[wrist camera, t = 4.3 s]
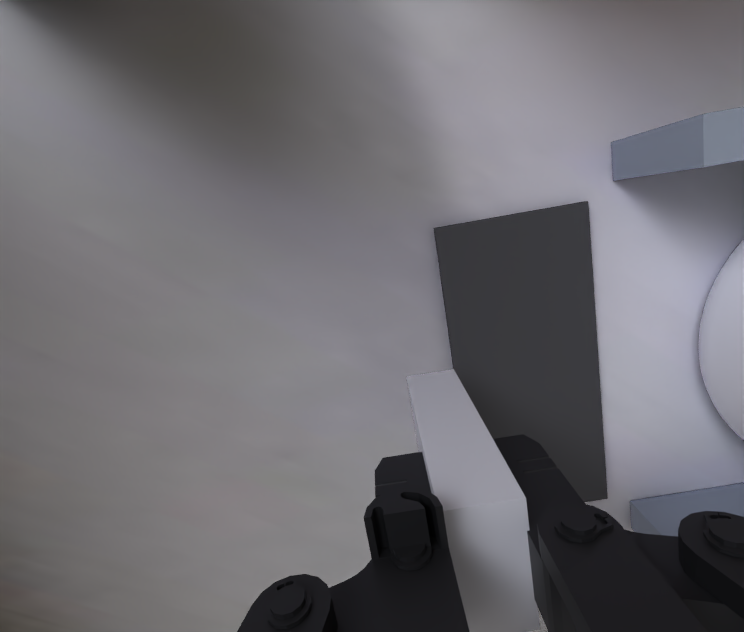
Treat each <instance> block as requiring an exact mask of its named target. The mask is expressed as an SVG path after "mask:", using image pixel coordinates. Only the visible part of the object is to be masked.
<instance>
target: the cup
mask: <svg viewBox="0 0 744 632" xmlns="http://www.w3.org/2000/svg"><path fill="white" fill-rule="evenodd" d="M698 350H699V363H700V368H701V374H702V377H703V380H704V384H705V387H706V389H707V392H708V394H709V396H710V398H711V400H712V402H713V405H714V406H715V408H716V409H717V411H718V412H719V414H720V416H721V417H722V418H723V420H724V421H725V422H726V423H727V424H728V425H729V427H730V428H731V429H732V430H733V431H734V432H735V433H736V434H737V435H738V436H739V437H741V438H742V439H743V440H744V239H743V241H742V242H741V243H740V244H739V245H738V246H737V247H736V249H735V250H734V251H733V253H732V254H731V255H730V257H729V258H728V259H727V261H726V263H725V264H724V266H723V267H722V269H721V270H720V272H719V274H718V276H717V278H716V279H715V281H714V284H713V286H712V288H711V290H710V292H709V295H708V298H707V301H706V303H705V307H704V310H703V314H702V318H701V323H700V332H699V345H698Z"/></svg>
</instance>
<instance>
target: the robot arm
mask: <svg viewBox="0 0 744 632" xmlns="http://www.w3.org/2000/svg"><path fill="white" fill-rule="evenodd" d="M407 384H408V390H409V396H410V402H411V408H412V414H413V421H414V427H415V433H416V439H417V445H418V451H419V452H417V453H411V454H405V455H398V456H392V457H386V458H382V460H381V462H380V463H379V465H378V467H377V468H376V470H375V486H376V487H375V496H376V498H375V499H374V500H373V501H372V503H371V504H370V505H369V506H368V507H367V509H366V512H365V516H364V522H365V527H366V532H367V537H368V542H369V547H370V552H371V557H372V560H371V561H370V562H369V563H368V565H367V566H366V567H365V568H364V569H363V570H362V571H360V572H359V573H358V574H357V575H355V576H353V577H352V578H350V579H348V580H346V581H344V582H342V583H339V584H337V585H335V586H333V587H330V588H328V586H327V584H326V583H324V582H323V581H322V580H321V579H320V578H318V577H315V576H311V575H307V574H302V575H294V576H289V577H287V578H284V579H282V580H279V581H277V582H275V583H274V584H272V585H271V586H270V587H268V588H267V589H266V590H264V591H263V592H262V593H261V594H260V596H259V597H258V598H257V599H256V601H255V602H254V603H253V605H252V606H251V608H250V610H249V611H248V613H247V615H246V617H245V619H244V620H243V622H242V624H241V626H240V628H239V629H238V631H237V632H525V631H532V630H539V629H540V623H539V613H538V608H539V610H540V613H541V615H542V617H543V620H544V622H545V624H546V627H547V629H548V632H744V517H743V516H739V515H735V514H731V513H727V512H718V511H702V512H696V513H691V514H689V515H688V516H686V517H685V518H683V519H682V520H681V521H680V525H679V528H678V536H667V535H655V534H644V533H637V532H631V531H627V530H624V529H623V527H622V526H621V525H620V524H619V523H618V522H617V521H616V520H615V519H614V518H613V517H612V516H610V515H609V514H608V513H607V512H605V511H602V510H600V509H598V508H596V507H594V506H590V505H586V504H585V503H584V501H583V500H582V499H581V497H580V496H579V495H578V493H577V492H576V491H575V490H574V488H573V487H572V486H571V484H570V483H569V482H568V480H567V479H566V478H565V476H564V475H563V474H562V472H561V471H560V470H559V468H558V469H557V466H556V464H555V463H554V462H553V460H552V459H551V458H549V455H548V454H547V453H546V451H545V450H544V449H543V447H542V446H541V445H540V443H538V442H536V441H535V440H533V439H531V438H529V437H527V436H526V435H524V434H521V435H515V436H509V437H502V438H496V439H493V438H492V436H491V435H490V433H489V431H488V429H487V428H486V426H485V424H484V422H483V420H482V419H481V417H480V415H479V413H478V411H477V410H476V408H475V406H474V404H473V403H472V401H471V399H470V397H469V395H468V394H467V392H466V390H465V388H464V387H463V385H462V383H461V381H460V379H459V378H458V376H457V374H456V372H455V371H454V369H450V370H444V371H438V372H432V373H426V374H419V375H413V376H407Z"/></svg>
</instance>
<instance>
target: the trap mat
mask: <svg viewBox="0 0 744 632" xmlns="http://www.w3.org/2000/svg"><path fill="white" fill-rule="evenodd" d="M434 234H435V241H436V248H437V255H438V262H439V269H440V276H441V284H442V291H443V298H444V305H445V312H446V319H447V326H448V333H449V340H450V347H451V355H452V362H453V369H454V371H455V372H456V374H457V376H458V378H459V379H460V381H461V383H462V385H463V387H464V388H465V390H466V392H467V394H468V395H469V397H470V399H471V401H472V403H473V404H474V406H475V408H476V410H477V411H478V413H479V415H480V417H481V419H482V420H483V422H484V424H485V426H486V428H487V429H488V431H489V433H490V435H491V436H492V438H493V439H496V438H502V437H509V436H515V435H521V434H524V435H526V436H527V437H529V438H531V439H533V440H535V441H536V442H538V443H540V445H541V446H542V447H543V449H544V450H545V451H546V453H547V454H548V455H549V458H551V459H552V460H553V462H554V463H555V464H556V466H557V469H558V468H559V470H560V471H561V472H562V474H563V475H564V476H565V478H566V479H567V480H568V482H569V483H570V484H571V486H572V487H573V488H574V490H575V491H576V492H577V493H578V495H579V496H580V497H581V499H582V500H583V501H584V502H588V501H595V500H601V499H607V483H606V468H605V453H604V437H603V422H602V407H601V391H600V376H599V361H598V345H597V330H596V315H595V299H594V284H593V269H592V254H591V238H590V223H589V208H588V201H587V202H579V203H574V204H568V205H562V206H557V207H551V208H545V209H540V210H534V211H528V212H523V213H517V214H511V215H506V216H500V217H494V218H489V219H483V220H477V221H472V222H466V223H460V224H455V225H449V226H444V227H438V228H434Z"/></svg>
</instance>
